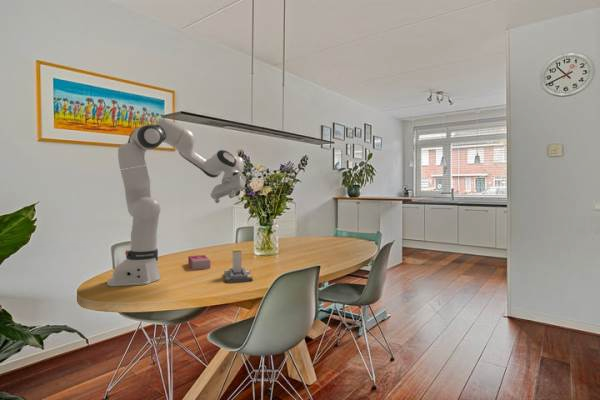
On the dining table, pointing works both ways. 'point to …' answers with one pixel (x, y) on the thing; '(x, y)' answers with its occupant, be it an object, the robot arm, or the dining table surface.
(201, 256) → the maroon box
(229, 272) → the switch bank
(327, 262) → the dining table surface
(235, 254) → the tab
